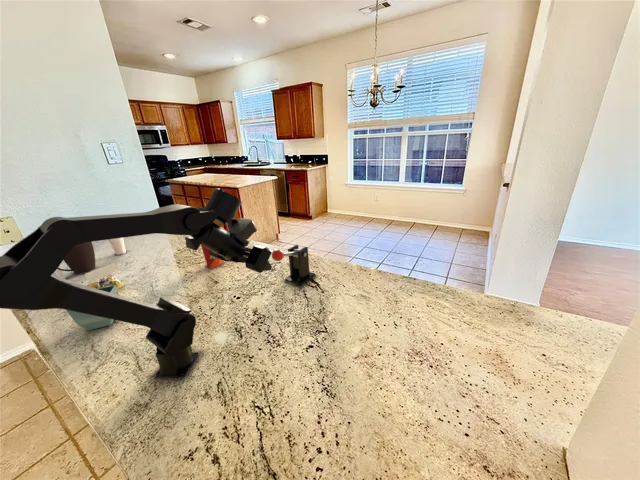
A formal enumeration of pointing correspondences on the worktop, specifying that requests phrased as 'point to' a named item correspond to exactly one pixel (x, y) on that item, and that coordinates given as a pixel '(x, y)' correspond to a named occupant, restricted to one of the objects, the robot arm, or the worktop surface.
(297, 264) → the tap bracket
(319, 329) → the worktop surface
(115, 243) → the smoothie
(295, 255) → the tap lever
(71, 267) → the mug
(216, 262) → the paper cup
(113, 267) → the cake
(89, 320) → the flower pot
